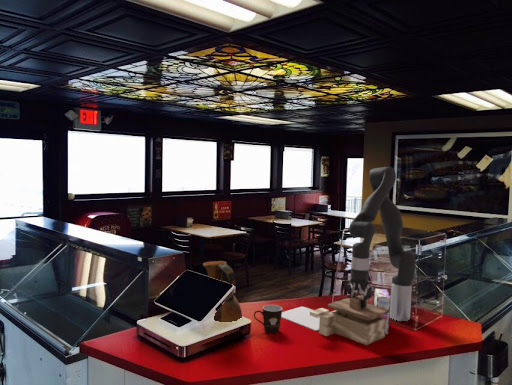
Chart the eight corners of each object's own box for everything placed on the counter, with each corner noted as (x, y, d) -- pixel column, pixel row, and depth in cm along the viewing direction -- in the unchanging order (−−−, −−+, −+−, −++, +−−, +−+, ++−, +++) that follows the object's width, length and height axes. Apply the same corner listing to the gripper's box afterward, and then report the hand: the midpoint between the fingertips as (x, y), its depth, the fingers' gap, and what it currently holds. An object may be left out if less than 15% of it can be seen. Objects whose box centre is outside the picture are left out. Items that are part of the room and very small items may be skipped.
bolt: (321, 311, 187) (321, 307, 187) (329, 313, 184) (329, 310, 184) (309, 315, 182) (309, 311, 182) (317, 317, 179) (317, 314, 179)
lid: (347, 302, 201) (348, 289, 200) (388, 314, 186) (389, 300, 185) (327, 309, 190) (328, 295, 190) (369, 323, 175) (370, 308, 175)
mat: (302, 307, 221) (302, 306, 221) (342, 321, 203) (343, 320, 203) (275, 315, 208) (275, 314, 208) (315, 331, 190) (315, 330, 190)
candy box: (388, 334, 189) (390, 297, 188) (374, 332, 191) (376, 296, 190) (385, 323, 203) (387, 289, 202) (372, 322, 204) (374, 287, 203)
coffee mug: (283, 328, 191) (284, 306, 190) (278, 335, 183) (279, 312, 182) (258, 324, 194) (259, 302, 194) (252, 331, 186) (253, 308, 186)
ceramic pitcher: (215, 319, 199) (218, 254, 197) (251, 330, 187) (254, 262, 185) (185, 331, 183) (187, 261, 181) (221, 344, 171) (224, 270, 169)
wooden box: (346, 323, 201) (347, 306, 200) (384, 337, 186) (386, 318, 186) (318, 333, 187) (319, 315, 187) (358, 349, 173) (359, 329, 172)
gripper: (341, 265, 189) (339, 304, 190) (369, 272, 179) (367, 312, 180) (351, 263, 194) (349, 300, 196) (379, 269, 184) (377, 309, 185)
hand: (358, 306), depth 188 cm, fingers closed on lid, 4 cm apart
